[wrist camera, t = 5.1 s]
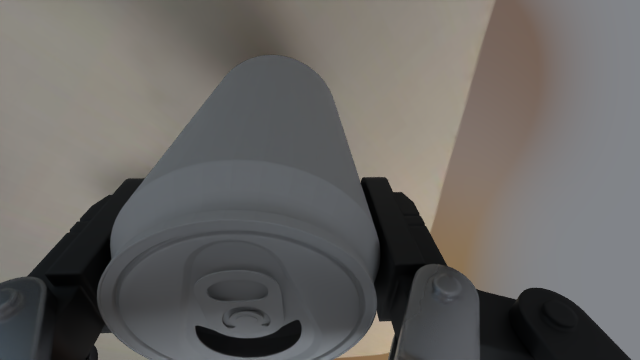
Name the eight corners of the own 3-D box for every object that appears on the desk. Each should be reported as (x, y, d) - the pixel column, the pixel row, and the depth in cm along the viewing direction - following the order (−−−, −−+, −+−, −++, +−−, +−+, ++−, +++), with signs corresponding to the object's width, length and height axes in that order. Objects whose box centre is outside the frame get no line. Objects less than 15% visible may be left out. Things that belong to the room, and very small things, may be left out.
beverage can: (227, 164, 18) (138, 399, 8) (205, 50, 14) (-17, 214, 4) (332, 162, 18) (376, 382, 8) (337, 50, 14) (427, 200, 4)
